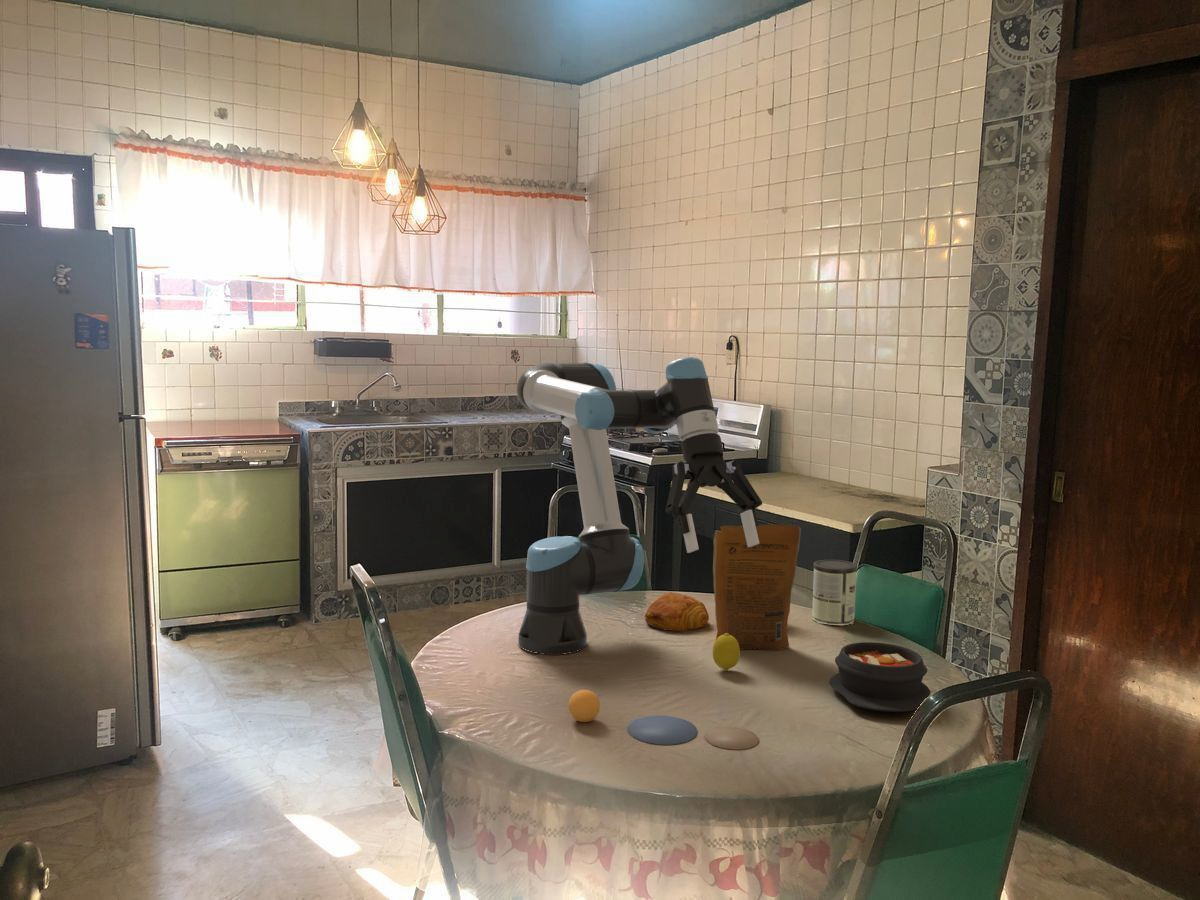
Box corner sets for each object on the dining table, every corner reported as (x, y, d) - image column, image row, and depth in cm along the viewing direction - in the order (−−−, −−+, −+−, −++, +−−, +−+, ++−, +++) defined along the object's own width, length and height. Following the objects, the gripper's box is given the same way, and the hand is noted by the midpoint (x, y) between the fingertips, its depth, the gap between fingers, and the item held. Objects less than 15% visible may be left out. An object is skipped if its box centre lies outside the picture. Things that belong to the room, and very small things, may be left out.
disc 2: (701, 746, 155) (701, 744, 155) (709, 725, 163) (709, 723, 163) (756, 752, 152) (756, 751, 152) (760, 731, 161) (760, 730, 161)
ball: (564, 725, 162) (565, 694, 162) (573, 713, 167) (573, 683, 167) (595, 728, 161) (595, 698, 160) (603, 716, 166) (603, 687, 166)
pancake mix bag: (798, 653, 202) (803, 527, 199) (710, 650, 203) (714, 524, 200) (793, 644, 209) (798, 521, 206) (708, 641, 210) (712, 519, 207)
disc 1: (620, 740, 156) (620, 738, 156) (635, 713, 168) (635, 712, 168) (691, 748, 153) (691, 747, 153) (701, 720, 165) (701, 719, 165)
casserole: (937, 726, 164) (940, 681, 163) (829, 715, 169) (831, 670, 168) (923, 678, 189) (925, 638, 188) (828, 669, 193) (830, 630, 192)
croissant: (672, 620, 234) (670, 588, 234) (719, 625, 222) (717, 592, 222) (630, 629, 224) (629, 596, 224) (678, 636, 213) (676, 601, 213)
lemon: (738, 676, 188) (739, 638, 187) (710, 674, 189) (712, 636, 188) (739, 667, 193) (741, 630, 192) (713, 665, 194) (714, 628, 193)
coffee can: (813, 612, 234) (815, 557, 233) (855, 617, 231) (858, 561, 230) (808, 623, 225) (811, 566, 223) (852, 628, 221) (855, 570, 220)
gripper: (653, 432, 165) (677, 548, 160) (764, 430, 177) (790, 538, 172) (633, 445, 171) (655, 558, 166) (741, 443, 184) (765, 548, 178)
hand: (724, 548), depth 169 cm, fingers open, 13 cm apart
